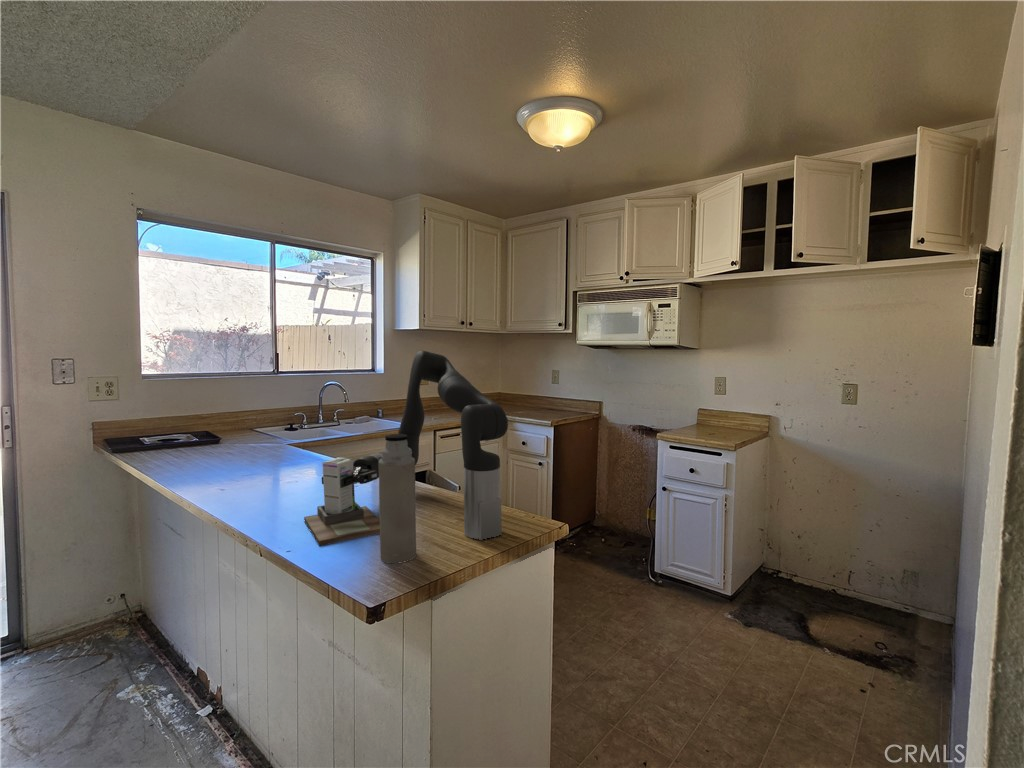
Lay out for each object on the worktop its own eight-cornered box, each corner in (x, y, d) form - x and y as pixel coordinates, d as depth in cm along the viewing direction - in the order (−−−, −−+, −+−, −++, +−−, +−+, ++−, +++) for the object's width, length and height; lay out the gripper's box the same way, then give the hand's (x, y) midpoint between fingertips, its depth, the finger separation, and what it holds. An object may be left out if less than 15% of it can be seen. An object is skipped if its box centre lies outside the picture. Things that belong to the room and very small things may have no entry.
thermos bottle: (384, 549, 116) (382, 432, 114) (418, 548, 116) (417, 431, 114) (376, 564, 108) (374, 438, 106) (413, 563, 108) (411, 438, 106)
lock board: (388, 531, 127) (388, 518, 127) (319, 545, 118) (319, 531, 118) (366, 510, 144) (365, 498, 144) (304, 521, 135) (303, 508, 135)
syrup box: (340, 516, 131) (338, 463, 130) (323, 513, 133) (322, 461, 132) (355, 509, 136) (354, 458, 135) (339, 506, 139) (337, 456, 137)
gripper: (351, 453, 150) (310, 466, 134) (391, 457, 144) (354, 470, 129) (352, 477, 150) (311, 493, 134) (392, 482, 145) (355, 498, 129)
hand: (332, 481), depth 132 cm, fingers closed on syrup box, 6 cm apart
